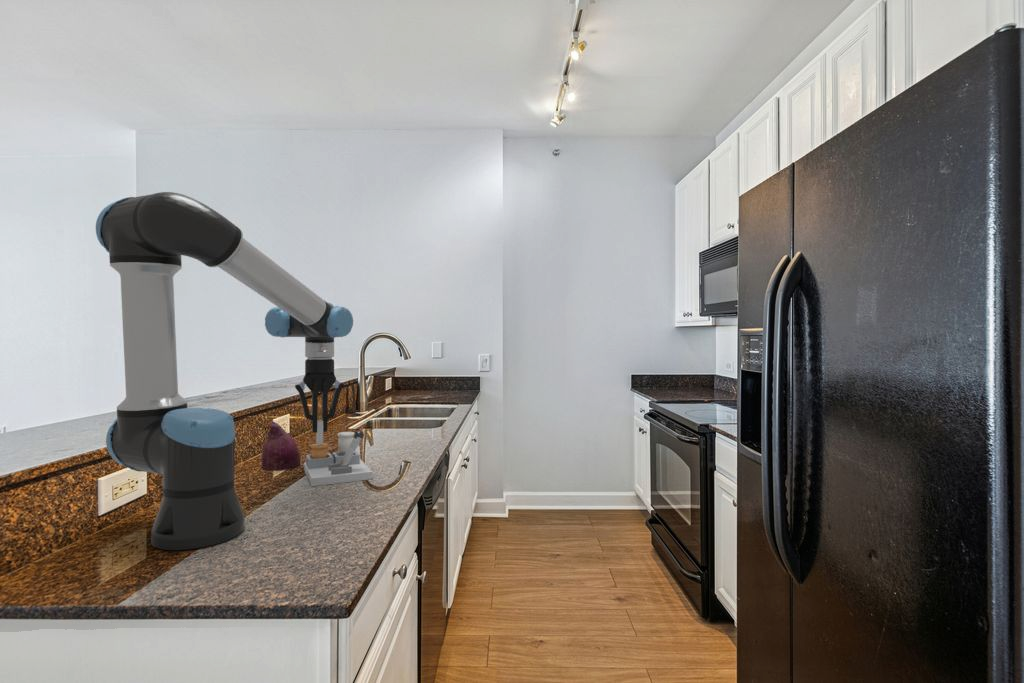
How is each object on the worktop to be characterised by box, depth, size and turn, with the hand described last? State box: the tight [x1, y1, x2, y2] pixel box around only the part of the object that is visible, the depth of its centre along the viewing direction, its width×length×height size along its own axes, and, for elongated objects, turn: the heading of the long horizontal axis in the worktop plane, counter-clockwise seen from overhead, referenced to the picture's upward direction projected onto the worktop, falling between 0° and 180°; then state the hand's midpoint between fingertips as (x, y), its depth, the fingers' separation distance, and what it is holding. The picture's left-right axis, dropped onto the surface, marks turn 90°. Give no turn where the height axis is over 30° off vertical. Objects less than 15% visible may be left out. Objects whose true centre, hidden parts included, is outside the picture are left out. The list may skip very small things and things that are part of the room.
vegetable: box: [261, 420, 301, 472], centre depth 148 cm, size 10×10×15 cm
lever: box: [339, 430, 365, 467], centre depth 138 cm, size 3×3×11 cm
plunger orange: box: [310, 442, 329, 459], centre depth 143 cm, size 5×5×5 cm
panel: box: [303, 450, 373, 487], centre depth 141 cm, size 15×18×4 cm
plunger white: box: [336, 431, 355, 453], centre depth 146 cm, size 5×5×5 cm
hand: (319, 443), depth 143 cm, fingers closed
